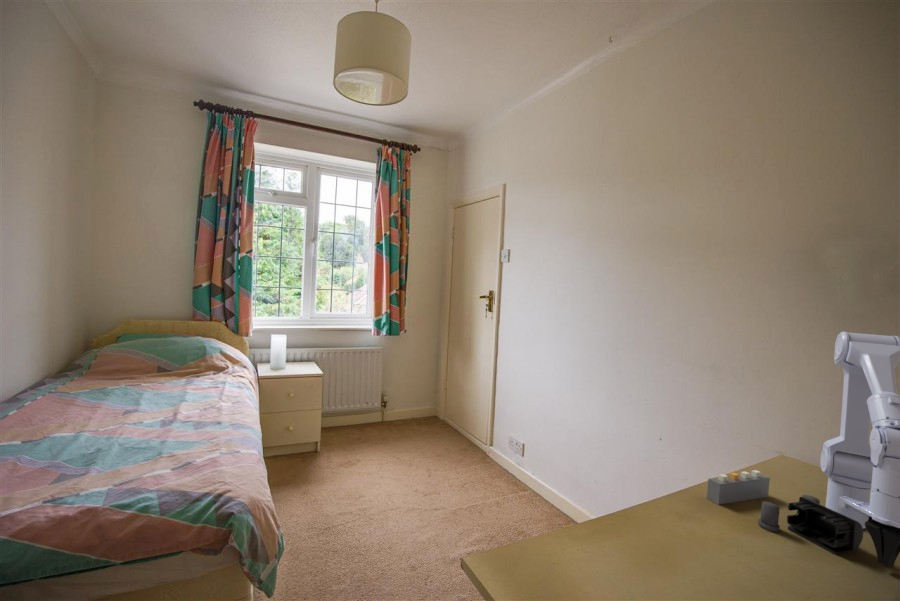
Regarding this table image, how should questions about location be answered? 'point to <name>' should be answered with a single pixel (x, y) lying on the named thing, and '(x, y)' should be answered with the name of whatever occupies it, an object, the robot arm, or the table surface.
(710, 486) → the breaker strip
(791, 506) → the end cap
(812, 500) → the dark grey cylinder
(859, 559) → the table surface
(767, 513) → the gray rounded knob
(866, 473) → the robot arm
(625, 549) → the table surface
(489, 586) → the table surface
